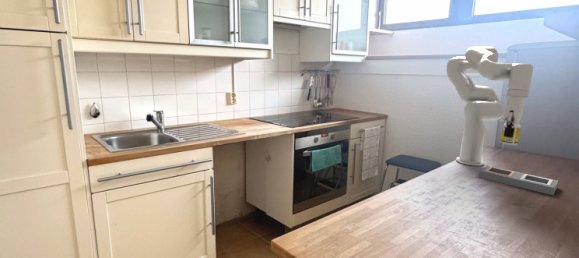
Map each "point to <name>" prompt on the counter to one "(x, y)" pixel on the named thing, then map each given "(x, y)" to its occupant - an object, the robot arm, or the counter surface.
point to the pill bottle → (515, 137)
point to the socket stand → (519, 179)
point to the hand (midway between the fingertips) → (510, 135)
